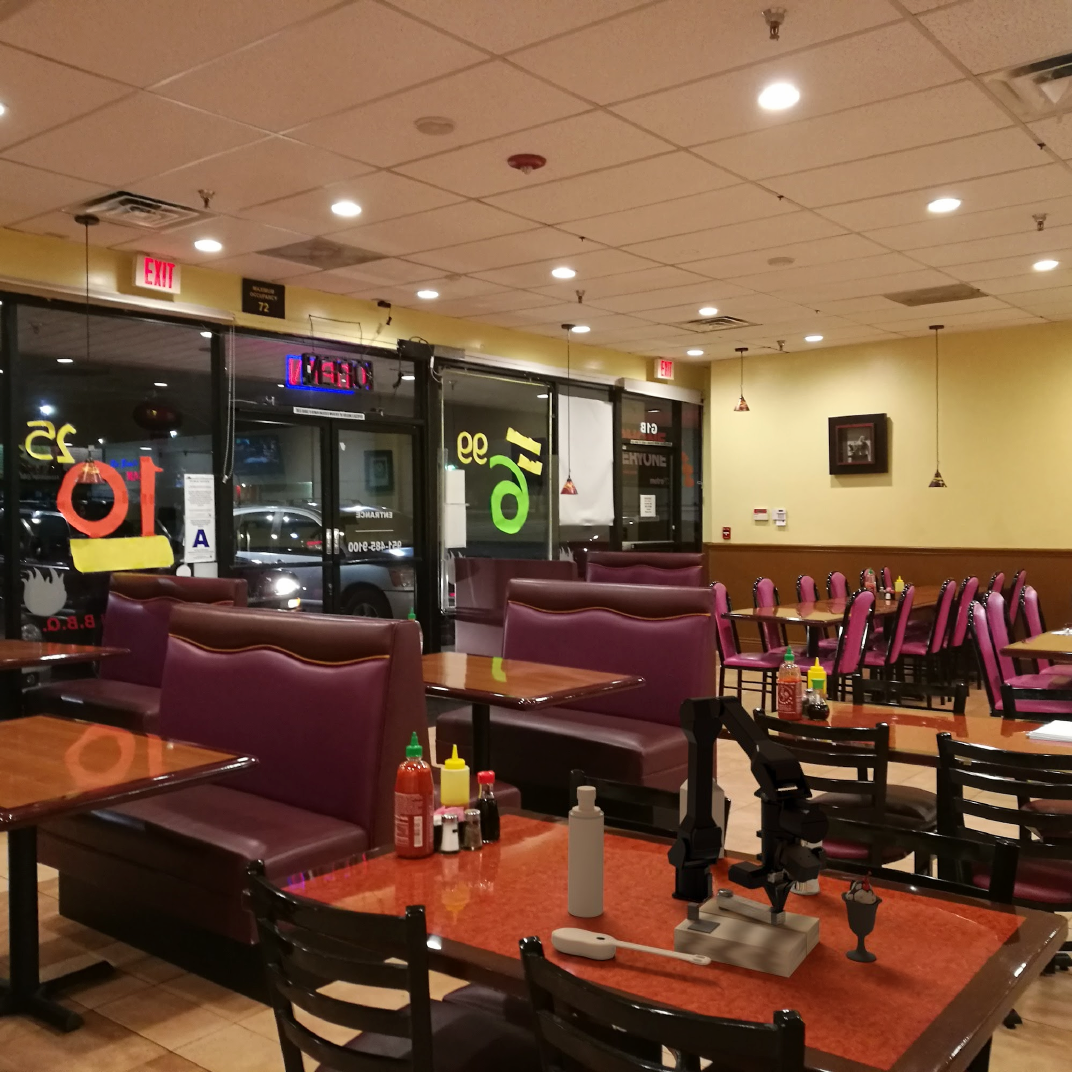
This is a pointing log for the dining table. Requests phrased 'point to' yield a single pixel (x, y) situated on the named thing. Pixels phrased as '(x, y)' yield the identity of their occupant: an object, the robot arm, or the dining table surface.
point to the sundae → (861, 916)
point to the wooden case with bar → (746, 938)
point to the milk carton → (716, 808)
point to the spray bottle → (585, 856)
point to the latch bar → (750, 907)
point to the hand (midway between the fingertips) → (778, 915)
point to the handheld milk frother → (608, 946)
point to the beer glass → (809, 886)
